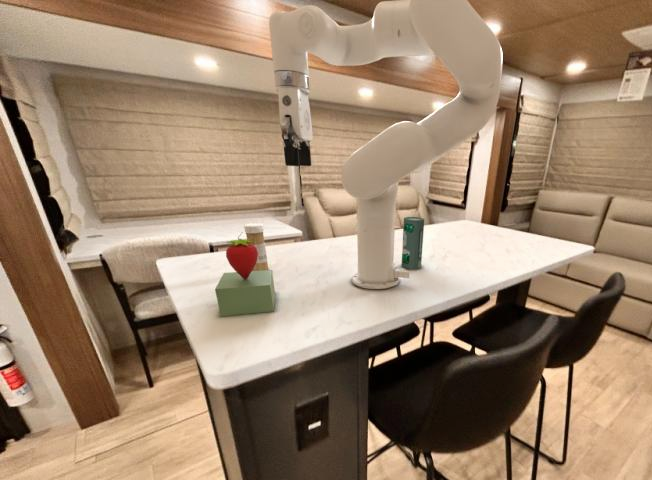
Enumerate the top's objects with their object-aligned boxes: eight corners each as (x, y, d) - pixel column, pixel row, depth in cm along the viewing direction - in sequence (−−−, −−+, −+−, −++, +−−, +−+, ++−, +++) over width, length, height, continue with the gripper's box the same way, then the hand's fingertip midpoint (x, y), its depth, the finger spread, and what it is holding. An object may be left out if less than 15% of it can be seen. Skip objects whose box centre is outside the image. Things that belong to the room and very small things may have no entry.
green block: (275, 293, 74) (272, 269, 72) (273, 311, 65) (270, 285, 63) (228, 297, 71) (223, 272, 69) (220, 316, 62) (214, 289, 60)
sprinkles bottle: (266, 268, 90) (259, 222, 85) (271, 273, 87) (265, 225, 82) (249, 271, 88) (241, 223, 82) (254, 276, 84) (246, 226, 79)
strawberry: (263, 272, 70) (256, 227, 66) (259, 283, 63) (252, 235, 59) (234, 273, 68) (225, 228, 64) (227, 285, 62) (217, 235, 58)
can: (402, 263, 101) (404, 216, 95) (421, 264, 101) (424, 217, 95) (400, 268, 96) (403, 219, 90) (420, 270, 95) (424, 220, 89)
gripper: (296, 75, 63) (303, 166, 70) (318, 93, 79) (322, 166, 86) (259, 74, 63) (270, 165, 70) (289, 92, 79) (295, 165, 86)
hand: (299, 165), depth 78 cm, fingers open, 9 cm apart
